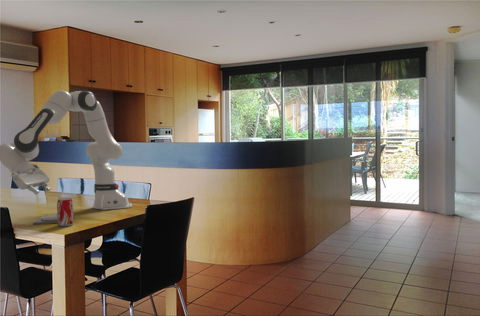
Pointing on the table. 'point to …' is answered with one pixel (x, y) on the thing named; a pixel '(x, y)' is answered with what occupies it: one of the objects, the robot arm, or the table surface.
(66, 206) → the soda can
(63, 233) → the table surface
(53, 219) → the slate can stand
